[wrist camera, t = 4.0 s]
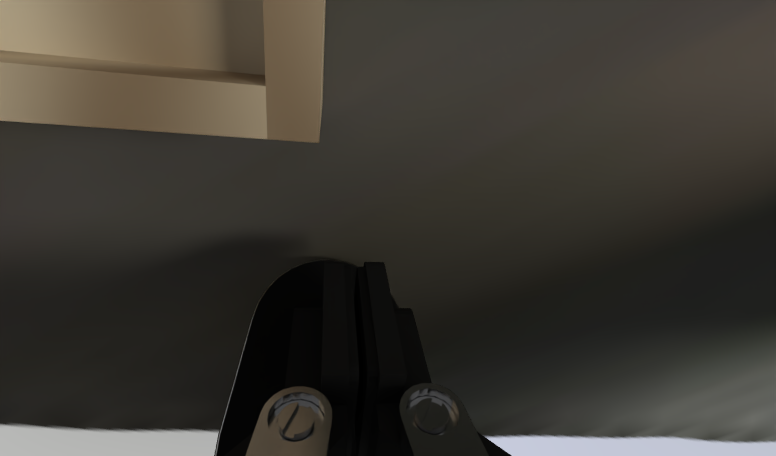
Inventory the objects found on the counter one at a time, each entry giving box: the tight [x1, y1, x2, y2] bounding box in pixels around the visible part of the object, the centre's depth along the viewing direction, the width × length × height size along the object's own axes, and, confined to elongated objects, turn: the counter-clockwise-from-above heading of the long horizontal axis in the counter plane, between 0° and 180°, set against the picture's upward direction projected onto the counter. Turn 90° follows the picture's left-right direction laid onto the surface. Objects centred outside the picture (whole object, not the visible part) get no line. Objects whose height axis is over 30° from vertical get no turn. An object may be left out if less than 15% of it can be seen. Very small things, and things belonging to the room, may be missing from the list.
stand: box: [214, 260, 399, 456], centre depth 15 cm, size 8×5×8 cm
